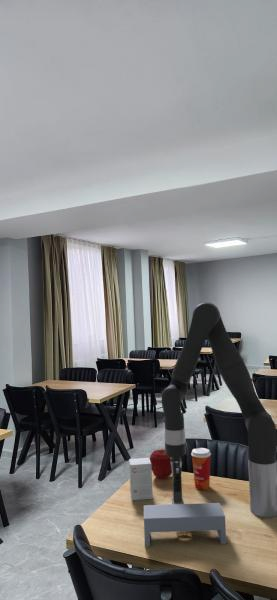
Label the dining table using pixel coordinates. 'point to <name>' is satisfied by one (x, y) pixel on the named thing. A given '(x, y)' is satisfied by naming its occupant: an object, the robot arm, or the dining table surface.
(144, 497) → the small box
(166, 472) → the apple
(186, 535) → the token
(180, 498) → the grey l-shaped bracket
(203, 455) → the paper cup
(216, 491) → the dining table surface
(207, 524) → the shelf
